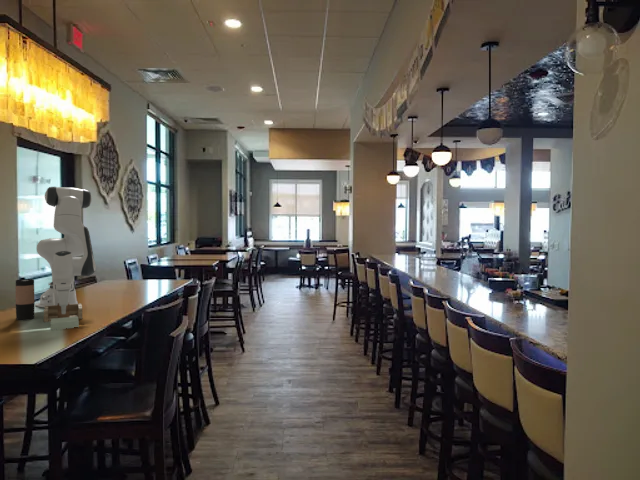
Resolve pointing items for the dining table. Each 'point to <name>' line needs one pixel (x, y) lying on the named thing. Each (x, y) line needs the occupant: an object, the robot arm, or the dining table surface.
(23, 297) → the travel mug
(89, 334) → the dining table surface
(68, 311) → the walnut block
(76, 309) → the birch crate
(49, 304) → the robot arm
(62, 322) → the sage stand
